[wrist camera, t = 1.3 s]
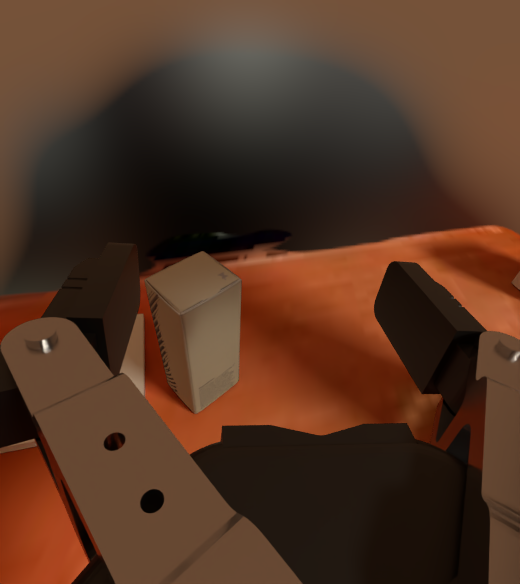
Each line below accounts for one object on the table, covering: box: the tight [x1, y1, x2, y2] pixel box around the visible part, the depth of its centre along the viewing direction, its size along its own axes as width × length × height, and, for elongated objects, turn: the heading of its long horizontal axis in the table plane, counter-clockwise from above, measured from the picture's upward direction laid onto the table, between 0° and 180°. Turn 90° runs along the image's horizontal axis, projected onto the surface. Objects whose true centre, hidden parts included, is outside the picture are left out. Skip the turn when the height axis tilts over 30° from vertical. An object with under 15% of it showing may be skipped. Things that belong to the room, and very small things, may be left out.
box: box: [145, 251, 242, 414], centre depth 28 cm, size 5×4×13 cm
